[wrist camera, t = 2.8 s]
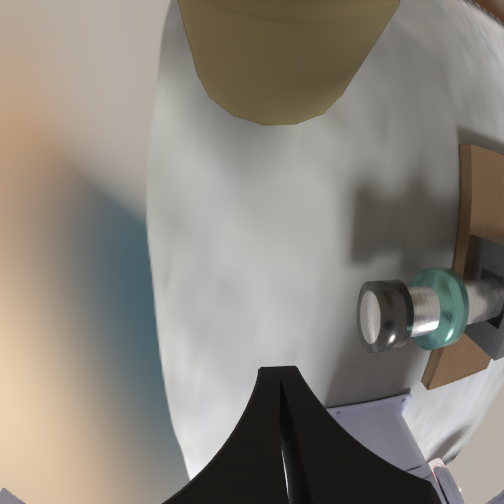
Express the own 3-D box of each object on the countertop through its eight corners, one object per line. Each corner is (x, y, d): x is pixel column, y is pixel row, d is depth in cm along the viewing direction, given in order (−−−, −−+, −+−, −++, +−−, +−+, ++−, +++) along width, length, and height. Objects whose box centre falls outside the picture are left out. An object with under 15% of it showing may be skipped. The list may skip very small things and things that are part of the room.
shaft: (350, 332, 17) (376, 379, 12) (359, 261, 16) (396, 293, 11) (491, 308, 17) (525, 332, 12) (503, 254, 15) (542, 272, 10)
